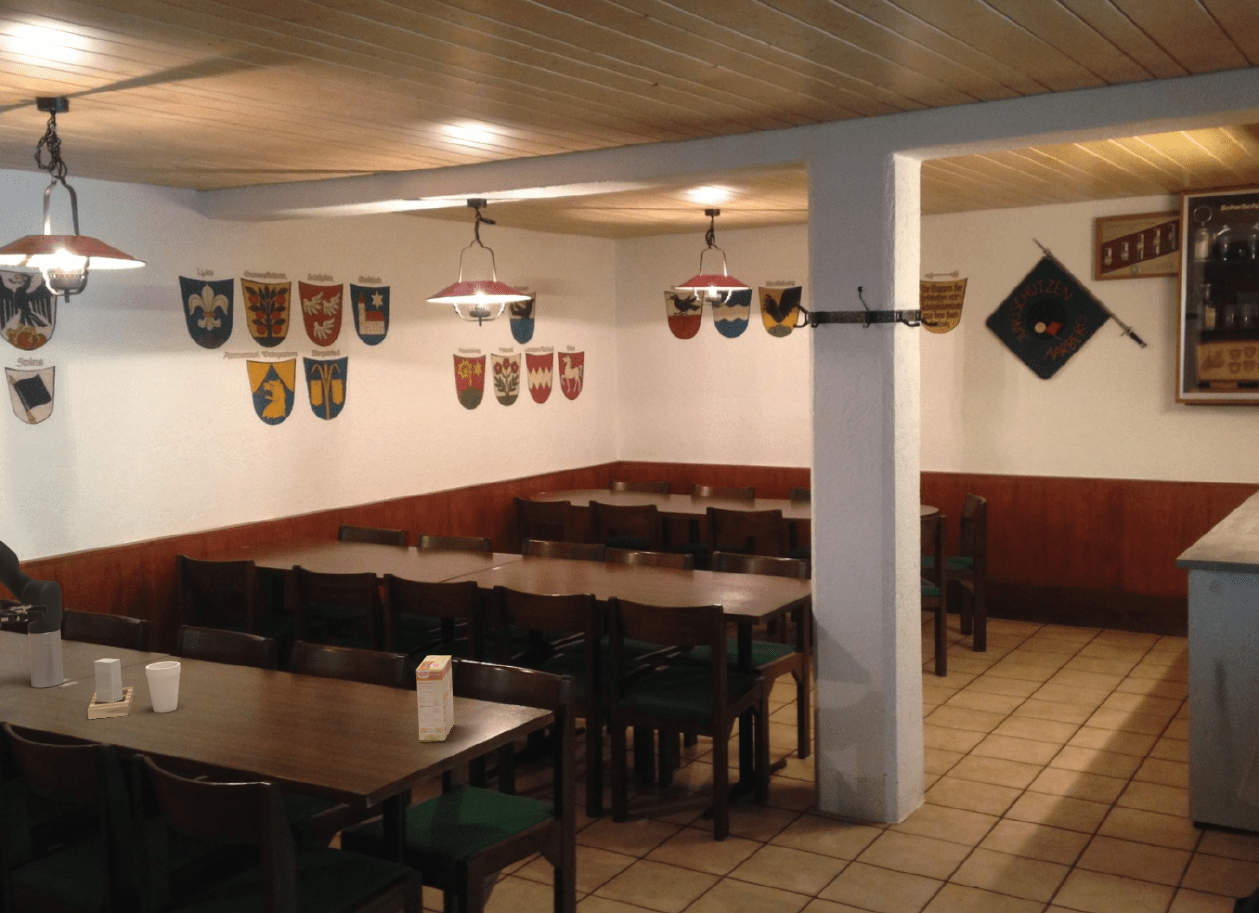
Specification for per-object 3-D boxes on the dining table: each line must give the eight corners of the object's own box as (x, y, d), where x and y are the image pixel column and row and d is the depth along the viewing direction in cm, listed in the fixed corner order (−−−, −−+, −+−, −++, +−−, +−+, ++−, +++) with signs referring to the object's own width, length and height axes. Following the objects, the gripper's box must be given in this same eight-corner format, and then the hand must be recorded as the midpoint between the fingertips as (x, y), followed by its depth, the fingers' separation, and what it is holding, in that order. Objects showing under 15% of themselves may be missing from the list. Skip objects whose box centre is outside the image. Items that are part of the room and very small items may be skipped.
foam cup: (189, 706, 352) (187, 663, 351) (165, 715, 343) (162, 670, 342) (165, 703, 356) (163, 660, 355) (140, 712, 347) (138, 667, 346)
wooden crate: (96, 700, 361) (95, 690, 361) (133, 696, 364) (133, 686, 364) (88, 720, 340) (87, 709, 340) (128, 716, 344) (127, 705, 343)
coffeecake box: (429, 725, 327) (426, 655, 326) (455, 725, 327) (452, 654, 325) (417, 743, 312) (414, 669, 311) (445, 742, 312) (442, 668, 310)
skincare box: (123, 699, 350) (121, 659, 349) (112, 703, 346) (110, 662, 345) (106, 698, 352) (104, 657, 351) (95, 702, 348) (93, 661, 347)
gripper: (-24, 608, 333) (40, 603, 338) (-15, 599, 346) (47, 594, 351) (-23, 635, 333) (42, 629, 339) (-13, 625, 347) (49, 619, 352)
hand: (45, 611), depth 345 cm, fingers open, 8 cm apart
